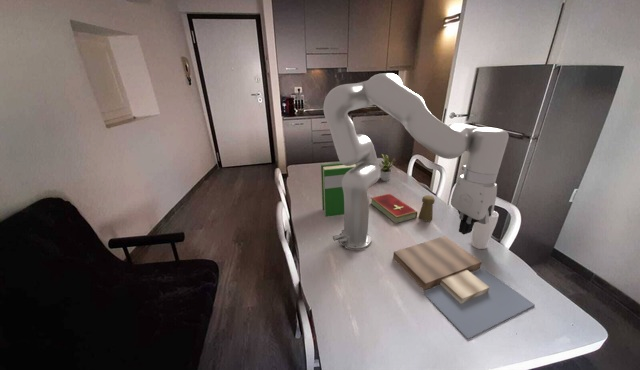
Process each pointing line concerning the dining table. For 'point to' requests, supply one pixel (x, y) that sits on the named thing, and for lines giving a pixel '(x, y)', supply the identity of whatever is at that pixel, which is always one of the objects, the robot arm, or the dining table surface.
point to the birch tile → (464, 286)
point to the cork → (427, 208)
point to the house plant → (386, 169)
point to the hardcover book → (393, 208)
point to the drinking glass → (483, 232)
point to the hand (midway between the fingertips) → (464, 231)
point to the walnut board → (435, 261)
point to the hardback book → (333, 188)
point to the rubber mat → (480, 305)
